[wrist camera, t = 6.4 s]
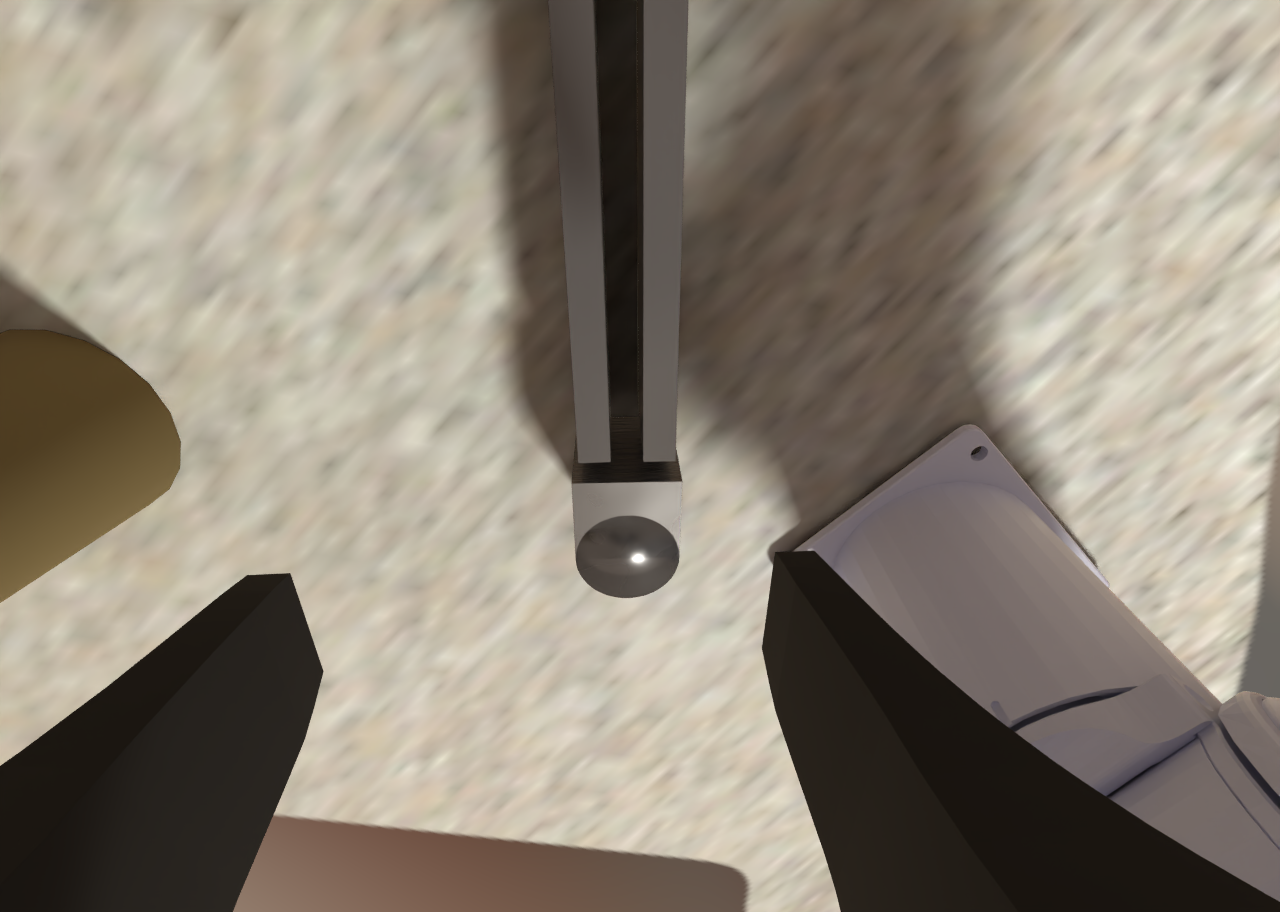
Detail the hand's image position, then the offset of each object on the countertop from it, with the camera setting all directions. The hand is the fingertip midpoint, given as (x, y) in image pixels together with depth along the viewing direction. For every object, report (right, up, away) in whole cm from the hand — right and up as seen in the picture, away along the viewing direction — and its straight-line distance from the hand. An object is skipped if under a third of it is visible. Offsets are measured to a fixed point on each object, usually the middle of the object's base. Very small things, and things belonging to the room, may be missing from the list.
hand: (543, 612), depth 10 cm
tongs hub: (+1, +2, +11) cm, 11 cm away
